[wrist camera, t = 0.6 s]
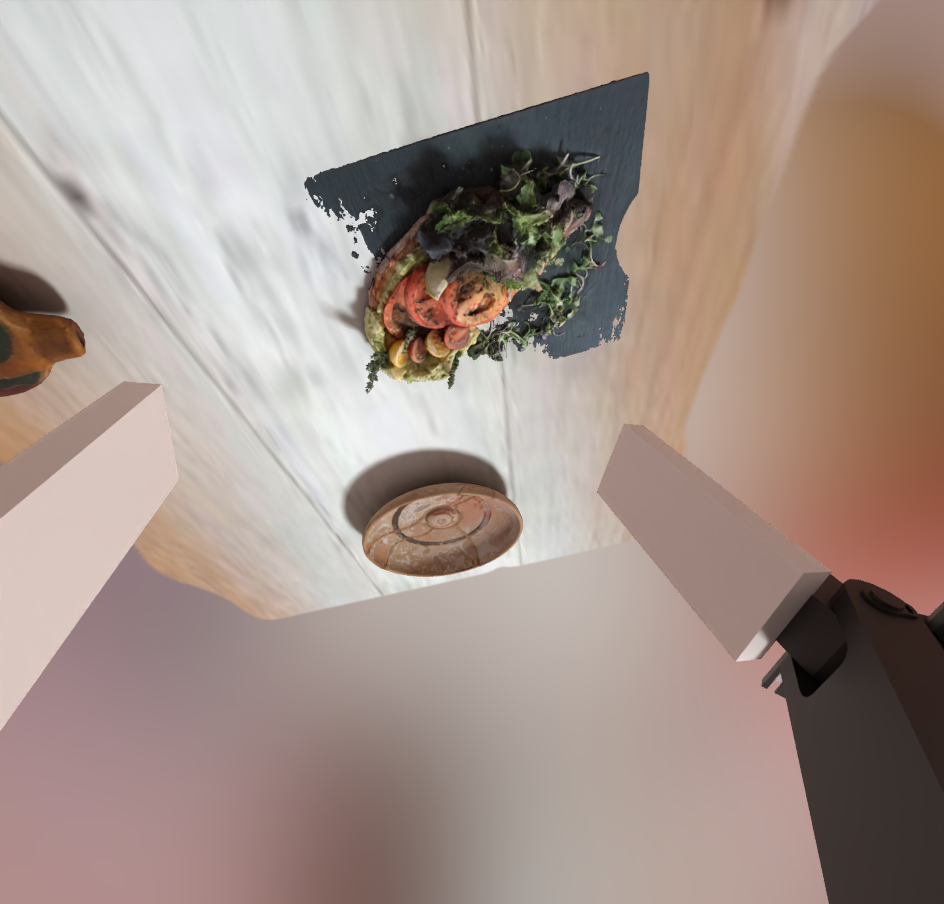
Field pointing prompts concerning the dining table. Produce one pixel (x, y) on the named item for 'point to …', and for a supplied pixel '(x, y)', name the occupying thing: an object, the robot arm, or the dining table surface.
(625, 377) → the dining table surface
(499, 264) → the plated dish
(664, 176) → the dining table surface
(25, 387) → the decorative turtle
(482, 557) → the ceramic bowl
